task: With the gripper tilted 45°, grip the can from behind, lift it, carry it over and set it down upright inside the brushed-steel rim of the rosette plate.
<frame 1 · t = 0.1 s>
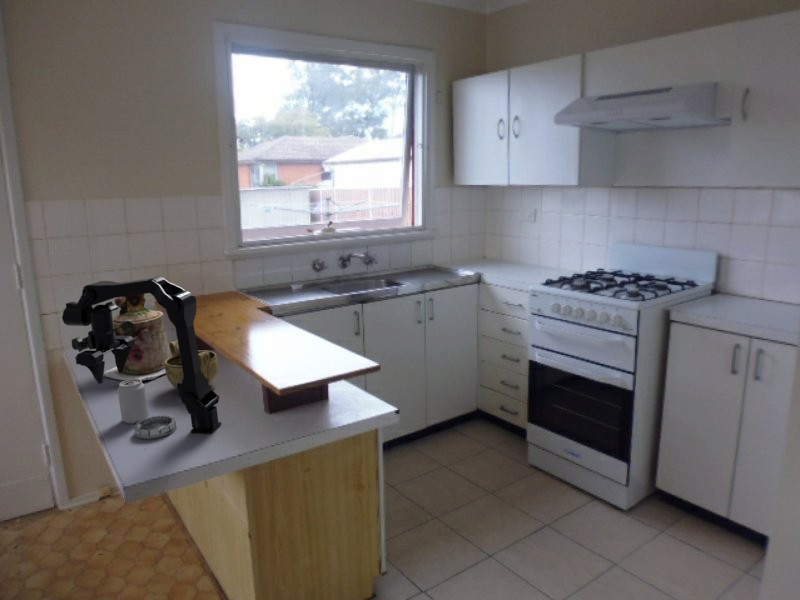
hand: (110, 377, 174), 15 cm above the table, tool pointing down, fingers open, 9 cm apart
rosette plate: (156, 431, 172), on the table
can: (136, 420, 181), on the table
ceramic bowl: (194, 388, 205), on the table
cookie jar: (144, 370, 225), on the table
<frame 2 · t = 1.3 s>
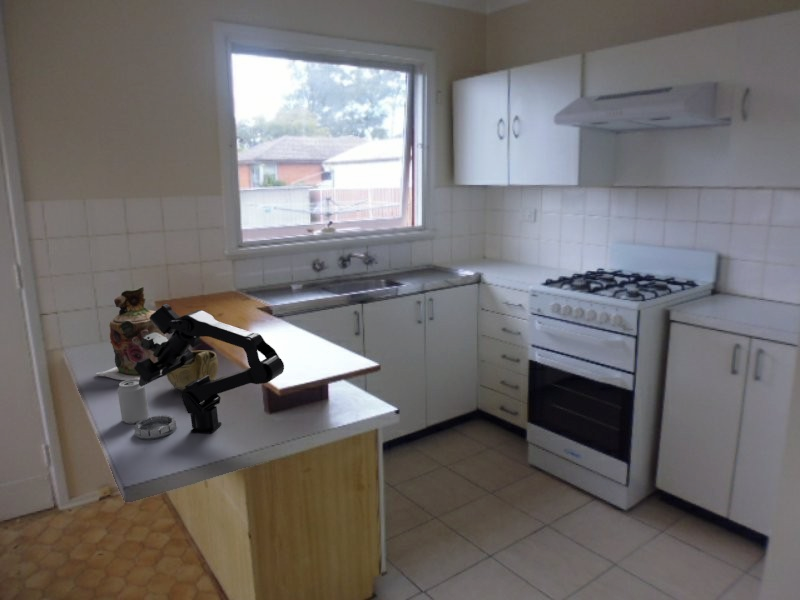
hand: (151, 379, 175), 13 cm above the table, tool tilted 45°, fingers open, 9 cm apart
nothing on the table moved.
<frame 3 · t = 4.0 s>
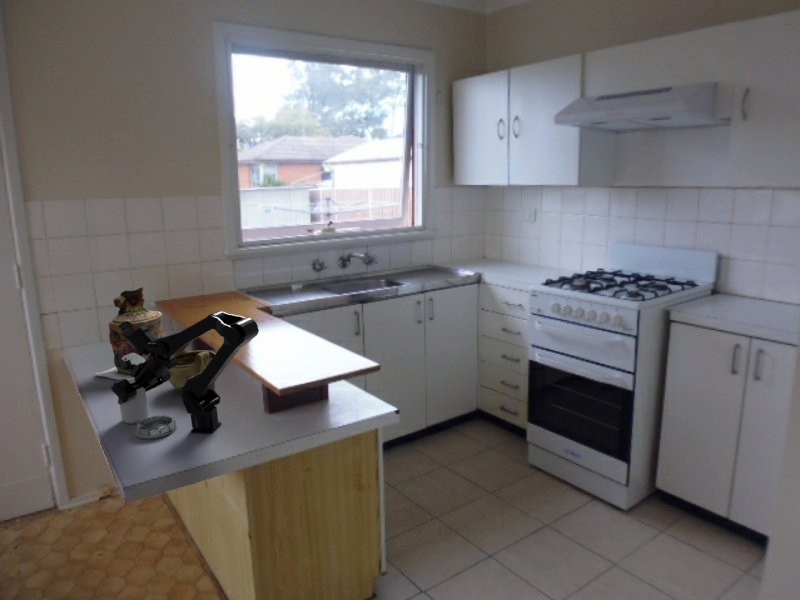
hand: (129, 398, 180), 7 cm above the table, tool tilted 45°, fingers closed on can, 7 cm apart
can: (136, 420, 181), on the table, touching gripper
everything else where it was.
when the fingers open (9 cm above the table, at t = 7.8 s): can drops 1 cm, resting on rosette plate.
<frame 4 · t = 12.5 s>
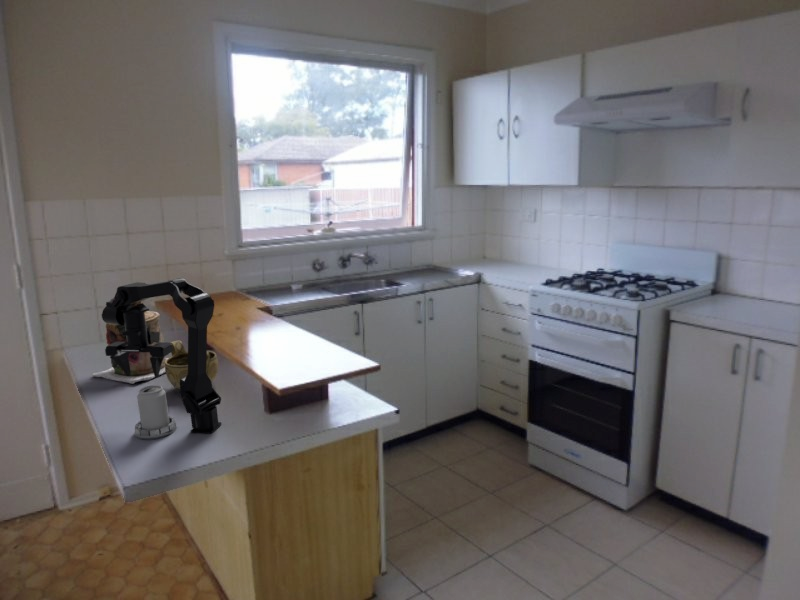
hand: (142, 376, 179), 13 cm above the table, tool pointing down, fingers open, 9 cm apart
can: (156, 428, 172), point 1 cm above the table, touching rosette plate
at the end: can 0.2 cm from the rosette plate (horizontally); can tilted 0°; the gripper is holding nothing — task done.
